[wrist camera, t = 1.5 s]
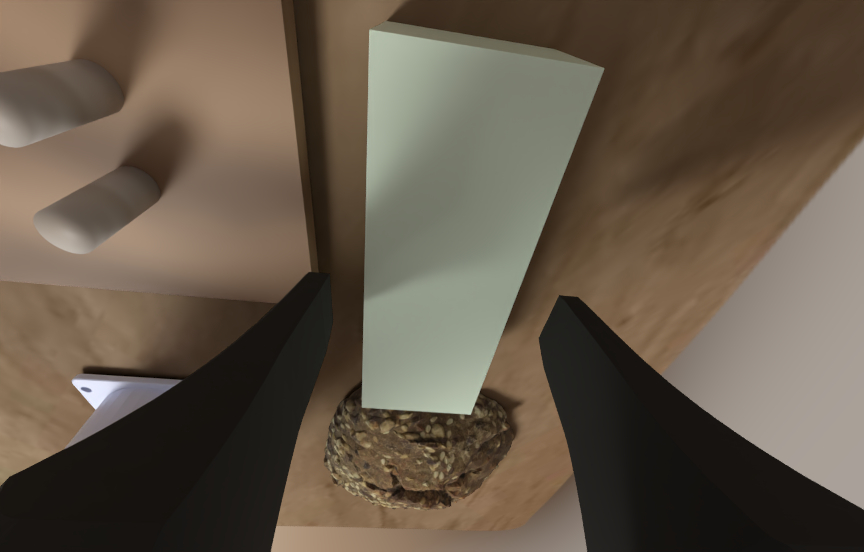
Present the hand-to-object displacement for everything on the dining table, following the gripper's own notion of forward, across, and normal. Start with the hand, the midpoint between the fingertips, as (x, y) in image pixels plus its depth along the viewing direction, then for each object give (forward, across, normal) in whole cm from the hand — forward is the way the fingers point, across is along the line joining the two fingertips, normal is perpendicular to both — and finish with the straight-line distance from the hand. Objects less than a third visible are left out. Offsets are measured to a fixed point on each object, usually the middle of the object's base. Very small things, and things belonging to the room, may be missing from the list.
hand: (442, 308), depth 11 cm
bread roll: (+5, -1, +16) cm, 17 cm away
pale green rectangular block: (+4, 0, 0) cm, 5 cm away
